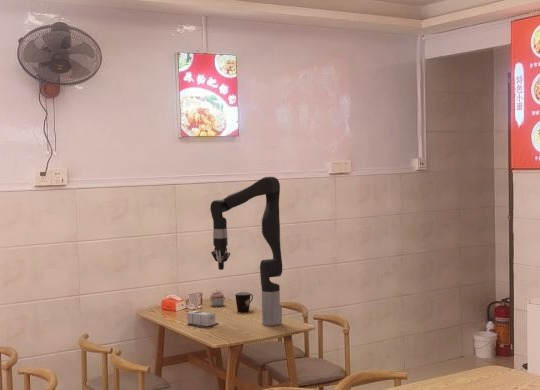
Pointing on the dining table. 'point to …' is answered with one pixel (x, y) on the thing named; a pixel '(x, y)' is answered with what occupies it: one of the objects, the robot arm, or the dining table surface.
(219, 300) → the cupcake
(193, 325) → the mat
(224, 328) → the dining table surface
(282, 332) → the dining table surface
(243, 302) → the coffee mug
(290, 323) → the dining table surface
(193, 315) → the syrup box
